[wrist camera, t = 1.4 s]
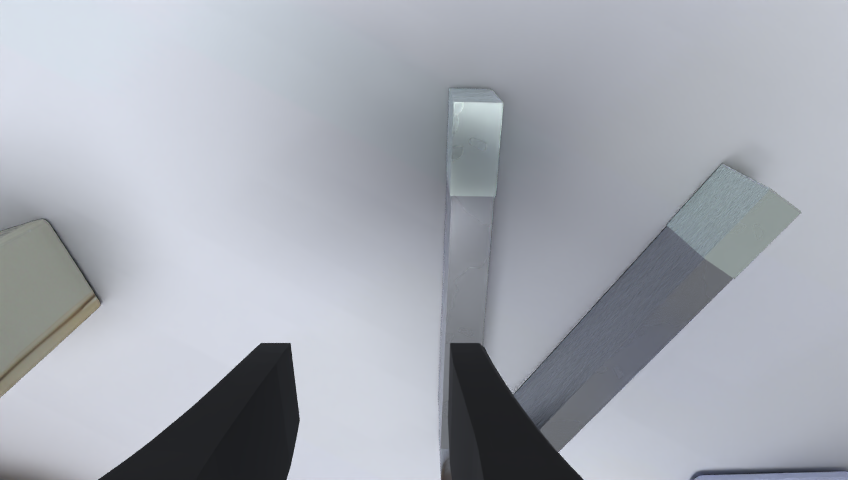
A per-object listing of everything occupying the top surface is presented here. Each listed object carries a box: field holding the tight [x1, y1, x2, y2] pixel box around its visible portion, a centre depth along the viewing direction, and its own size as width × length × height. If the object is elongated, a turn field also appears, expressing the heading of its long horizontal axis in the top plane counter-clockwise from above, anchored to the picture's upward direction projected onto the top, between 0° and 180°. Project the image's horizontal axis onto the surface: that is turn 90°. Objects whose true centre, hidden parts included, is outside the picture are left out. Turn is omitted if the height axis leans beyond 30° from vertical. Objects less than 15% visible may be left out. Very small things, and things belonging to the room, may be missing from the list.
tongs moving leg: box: [438, 88, 503, 449], centre depth 20 cm, size 14×2×3 cm, turn 179°
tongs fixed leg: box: [439, 164, 801, 480], centre depth 21 cm, size 18×3×3 cm, turn 147°
